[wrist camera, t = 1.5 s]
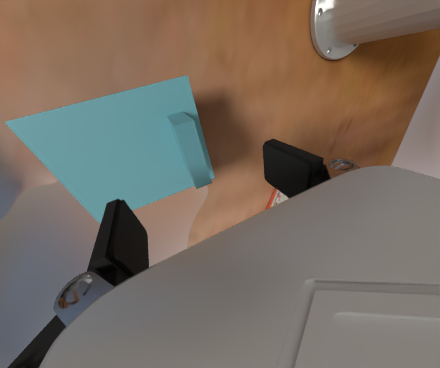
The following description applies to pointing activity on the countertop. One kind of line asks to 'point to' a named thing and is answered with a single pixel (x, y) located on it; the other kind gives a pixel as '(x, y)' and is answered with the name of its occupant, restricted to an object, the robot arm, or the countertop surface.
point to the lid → (122, 145)
